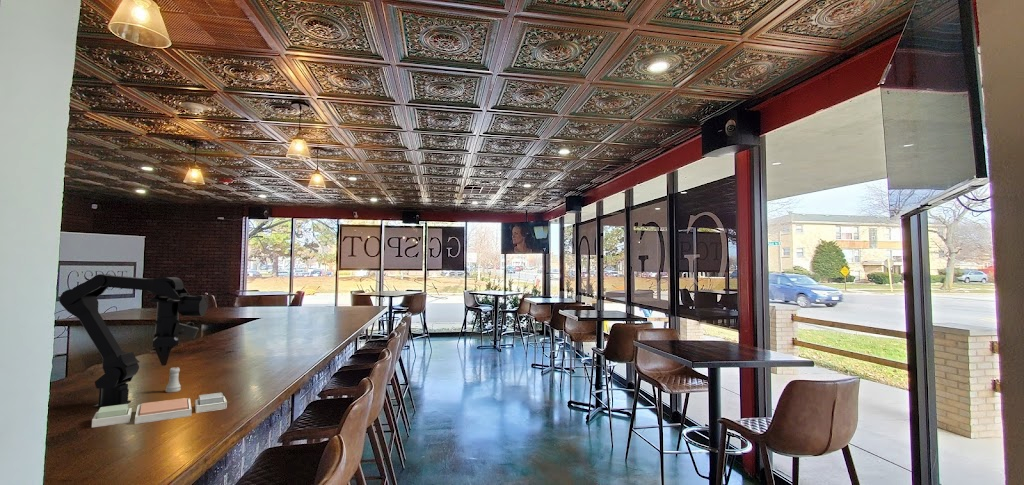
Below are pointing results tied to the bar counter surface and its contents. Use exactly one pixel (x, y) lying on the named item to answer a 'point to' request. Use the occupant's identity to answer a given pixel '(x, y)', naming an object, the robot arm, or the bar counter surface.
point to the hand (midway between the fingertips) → (164, 365)
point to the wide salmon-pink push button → (162, 415)
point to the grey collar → (210, 406)
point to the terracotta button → (163, 406)
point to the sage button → (112, 411)
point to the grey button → (210, 398)
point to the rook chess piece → (173, 381)
